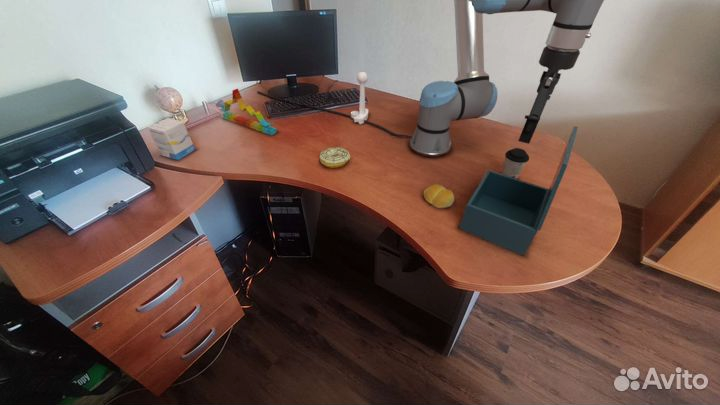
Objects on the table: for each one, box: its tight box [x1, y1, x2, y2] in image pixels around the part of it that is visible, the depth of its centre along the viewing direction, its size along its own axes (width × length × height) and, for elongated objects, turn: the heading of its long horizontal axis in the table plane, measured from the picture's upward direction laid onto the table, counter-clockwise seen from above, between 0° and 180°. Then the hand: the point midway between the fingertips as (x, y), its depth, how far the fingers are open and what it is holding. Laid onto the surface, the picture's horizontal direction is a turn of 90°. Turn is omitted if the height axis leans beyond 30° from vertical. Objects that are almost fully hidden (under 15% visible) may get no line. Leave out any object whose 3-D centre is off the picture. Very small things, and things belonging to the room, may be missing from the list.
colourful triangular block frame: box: [220, 88, 278, 136], centre depth 123 cm, size 30×3×15 cm, turn 58°
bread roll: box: [423, 184, 455, 209], centre depth 88 cm, size 8×9×4 cm
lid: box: [536, 125, 579, 231], centre depth 68 cm, size 18×19×1 cm
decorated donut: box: [319, 146, 351, 169], centre depth 105 cm, size 10×11×4 cm
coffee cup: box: [501, 147, 530, 179], centre depth 94 cm, size 7×7×10 cm
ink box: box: [147, 117, 196, 161], centre depth 107 cm, size 9×8×12 cm
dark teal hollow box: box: [458, 169, 549, 256], centre depth 80 cm, size 17×19×9 cm
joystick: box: [350, 71, 369, 125], centre depth 126 cm, size 11×8×20 cm
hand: (528, 131), depth 82 cm, fingers open, 13 cm apart
